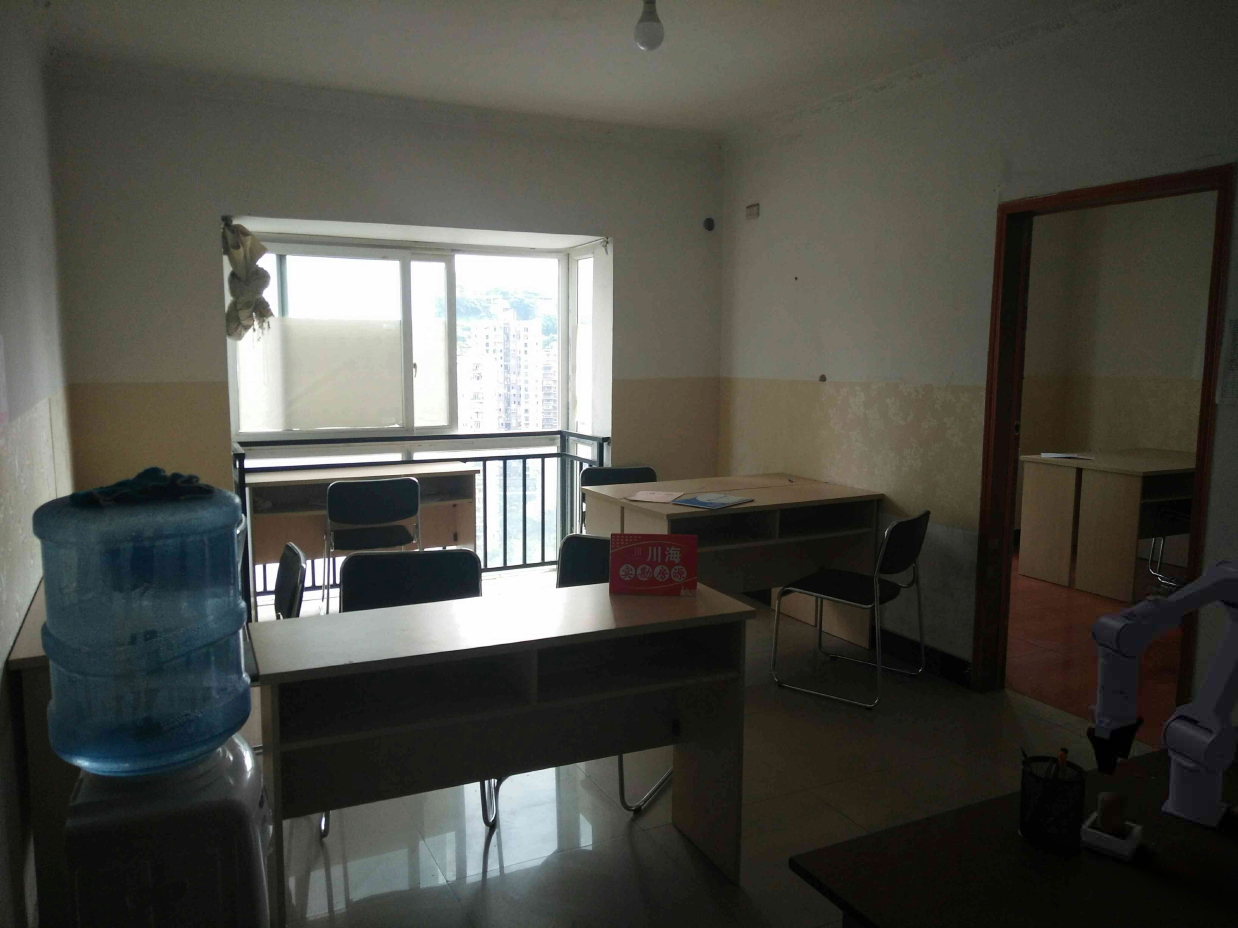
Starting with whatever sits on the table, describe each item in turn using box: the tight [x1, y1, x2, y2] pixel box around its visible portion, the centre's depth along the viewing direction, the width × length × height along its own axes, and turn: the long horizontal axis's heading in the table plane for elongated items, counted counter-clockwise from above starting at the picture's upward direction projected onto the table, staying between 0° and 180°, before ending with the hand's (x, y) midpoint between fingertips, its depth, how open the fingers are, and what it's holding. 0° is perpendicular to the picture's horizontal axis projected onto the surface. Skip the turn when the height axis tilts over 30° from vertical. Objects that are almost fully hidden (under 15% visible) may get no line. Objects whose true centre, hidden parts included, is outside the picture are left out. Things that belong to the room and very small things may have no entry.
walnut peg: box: [1097, 791, 1128, 840], centre depth 139 cm, size 4×4×7 cm
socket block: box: [1080, 811, 1143, 863], centre depth 140 cm, size 7×7×3 cm
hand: (1113, 764), depth 145 cm, fingers open, 7 cm apart
